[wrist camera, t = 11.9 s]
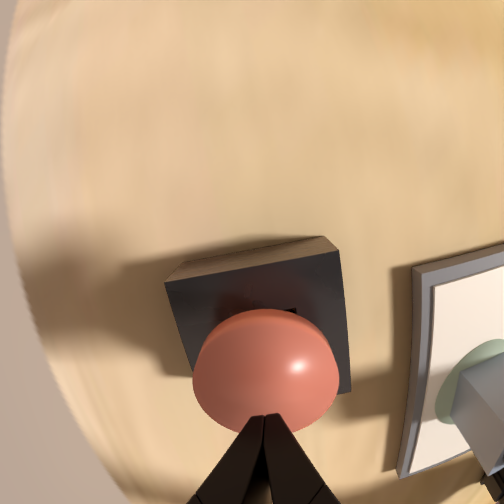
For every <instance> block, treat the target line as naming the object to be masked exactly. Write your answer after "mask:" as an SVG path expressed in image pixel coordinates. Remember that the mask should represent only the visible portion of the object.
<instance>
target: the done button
mask: <svg viewBox="0 0 504 504" xmlns="http://www.w3.org/2000/svg"><path fill="white" fill-rule="evenodd" d="M338 386H339V372H338V367H337V364H336V362H335V359H334V356H333V353H332V351H331V348H330V345H329V343H328V341H327V339H326V337H325V336H324V335H323V333H322V332H321V331H320V330H319V329H318V328H317V327H316V326H315V325H314V324H313V323H311V322H310V321H308V320H307V319H305V318H303V317H301V316H299V315H296V314H294V313H291V312H287V311H283V310H276V309H257V310H250V311H246V312H242V313H239V314H237V315H234V316H232V317H230V318H228V319H226V320H225V321H223V322H222V323H220V324H219V325H218V326H217V327H215V328H214V329H213V330H212V331H211V333H210V334H209V335H208V336H207V338H206V340H205V341H204V343H203V345H202V348H201V351H200V353H199V356H198V359H197V362H196V365H195V367H194V372H193V390H194V393H195V396H196V399H197V401H198V403H199V404H200V406H201V407H202V409H203V410H204V411H205V412H206V413H207V414H208V415H209V416H210V417H211V418H212V419H213V420H214V421H216V422H217V423H219V424H220V425H222V426H224V427H226V428H228V429H230V430H232V431H235V432H238V433H240V432H241V430H242V429H243V427H244V426H245V424H246V423H247V421H248V420H249V418H250V417H251V416H256V415H265V416H266V415H267V414H272V413H279V414H280V415H281V416H282V418H283V419H284V421H285V423H286V424H287V426H288V427H289V429H290V430H291V432H295V431H298V430H300V429H303V428H305V427H307V426H309V425H310V424H312V423H313V422H315V421H316V420H317V419H319V418H320V417H321V416H322V415H323V414H324V413H325V412H326V411H327V410H328V408H329V407H330V406H331V404H332V403H333V401H334V399H335V397H336V394H337V391H338Z"/></svg>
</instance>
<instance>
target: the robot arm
mask: <svg viewBox="0 0 504 504" xmlns="http://www.w3.org/2000/svg"><path fill="white" fill-rule="evenodd" d="M480 484H481V485H483V484H485V486H486V487H487V489H488V491H489V493H490V495H491V496H492V498H493V500H494V501H495V502H497V501H498V502H499V504H504V468H502V469H500V470H499V471H497V472H495V473H493V474H492V475H490V476H487V475H486V473H485V474H484V476H483V478H482V480H481V481H480ZM272 503H273V504H341V503H340V502H339V501H338V499H337V498H336V497H335V496H334V494H333V493H332V492H331V490H330V489H329V487H328V486H327V485H326V484H325V482H324V480H323V479H322V477H321V476H320V474H319V473H318V472H317V470H316V469H315V467H314V466H313V464H312V463H311V461H310V460H309V458H308V457H307V455H306V454H305V452H304V451H303V449H302V448H301V446H300V444H299V443H298V441H297V440H296V438H295V437H294V435H293V434H292V432H291V430H290V429H289V427H288V426H287V424H286V423H285V421H284V419H283V418H282V416H281V415H280V414H279V413H272V414H267V415H266V416H265V415H256V416H251V417H250V418H249V420H248V421H247V423H246V424H245V426H244V427H243V429H242V430H241V432H240V433H239V434H238V436H237V437H236V439H235V440H234V442H233V443H232V444H231V446H230V447H229V449H228V450H227V451H226V453H225V454H224V455H223V457H222V458H221V460H220V461H219V462H218V464H217V465H216V466H215V468H214V469H213V470H212V472H211V473H210V474H209V476H208V477H207V478H206V480H205V481H204V482H203V484H202V485H201V486H200V487H199V489H198V490H197V491H196V494H194V495H193V496H192V497H191V499H190V500H189V501H188V502H187V503H186V504H272Z"/></svg>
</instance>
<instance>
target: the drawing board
mask: <svg viewBox="0 0 504 504" xmlns="http://www.w3.org/2000/svg"><path fill="white" fill-rule="evenodd" d="M412 301H413V312H412V348H411V365H410V377H409V388H408V398H407V406H406V414H405V421H404V428H403V434H402V440H401V446H400V451H399V456H398V461H397V466H396V471H397V474H398V477H399V479H402V478H405V477H408V476H411V475H414V474H417V473H420V472H422V471H425V470H427V469H430V468H433V467H435V466H437V465H440V464H442V463H445V462H447V461H449V460H452V459H454V458H456V457H458V456H460V455H462V454H465V453H467V452H469V451H471V448H470V447H469V445H468V443H467V442H466V440H465V439H464V437H463V436H462V434H461V433H460V431H459V429H458V428H457V426H456V425H455V423H454V422H453V420H452V419H451V417H450V412H451V409H452V405H453V401H454V396H455V392H456V388H457V383H458V378H459V373H460V371H462V370H464V369H467V368H469V367H472V366H474V365H477V364H479V363H481V362H483V361H486V360H488V359H490V358H492V357H495V356H497V355H499V354H501V353H503V352H504V244H500V245H497V246H493V247H489V248H486V249H482V250H478V251H474V252H471V253H467V254H463V255H459V256H455V257H451V258H448V259H444V260H440V261H436V262H431V263H427V264H423V265H419V266H415V267H412Z"/></svg>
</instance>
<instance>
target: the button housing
mask: <svg viewBox="0 0 504 504" xmlns="http://www.w3.org/2000/svg"><path fill="white" fill-rule="evenodd" d="M164 284H165V287H166V291H167V294H168V298H169V301H170V304H171V308H172V311H173V314H174V317H175V321H176V324H177V327H178V330H179V333H180V336H181V339H182V342H183V345H184V348H185V351H186V354H187V357H188V360H189V363H190V366H191V368H192V371H193V372H194V367H195V365H196V362H197V359H198V356H199V353H200V351H201V348H202V345H203V343H204V341H205V340H206V338H207V336H208V335H209V334H210V333H211V331H212V330H213V329H214V328H215V327H217V326H218V325H219V324H220V323H222V322H223V321H225V320H226V319H228V318H230V317H232V316H234V315H237V314H239V313H242V312H246V311H250V310H257V309H276V310H286V309H291V308H295V314H296V315H299V316H301V317H303V318H305V319H307V320H308V321H310V322H311V323H313V324H314V325H315V326H316V327H317V328H318V329H319V330H320V331H321V332H322V333H323V335H324V336H325V337H326V339H327V341H328V343H329V345H330V348H331V351H332V353H333V356H334V359H335V362H336V364H337V367H338V372H339V386H338V391H337V394H336V395H338V394H343V393H347V392H351V377H350V358H349V343H348V330H347V318H346V307H345V297H344V288H343V279H342V271H341V263H340V255H339V250H338V249H337V248H336V247H335V246H334V245H333V244H332V243H331V242H330V241H329V240H328V239H327V238H326V237H325V236H321V237H316V238H311V239H305V240H300V241H295V242H289V243H284V244H279V245H273V246H268V247H263V248H257V249H252V250H247V251H241V252H236V253H231V254H226V255H220V256H215V257H210V258H204V259H199V260H194V261H189V262H183V263H182V264H181V265H180V266H179V267H178V268H177V269H176V270H175V271H174V272H173V273H172V274H171V275H170V276H169V277H168V279H167V280H166V281H165V282H164Z"/></svg>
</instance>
